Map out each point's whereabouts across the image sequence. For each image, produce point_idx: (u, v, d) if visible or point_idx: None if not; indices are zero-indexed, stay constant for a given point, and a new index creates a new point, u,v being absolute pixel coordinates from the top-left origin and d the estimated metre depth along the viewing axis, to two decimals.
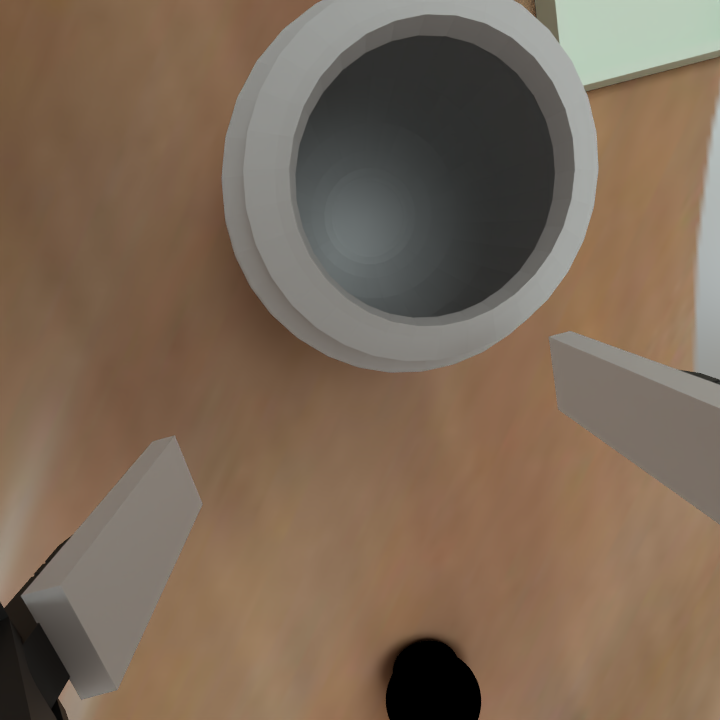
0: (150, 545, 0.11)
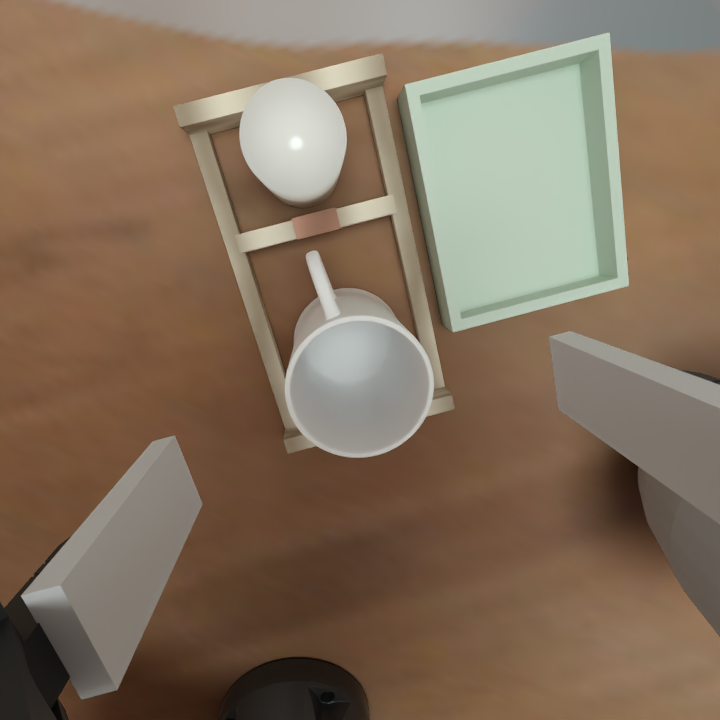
0: (150, 545, 0.11)
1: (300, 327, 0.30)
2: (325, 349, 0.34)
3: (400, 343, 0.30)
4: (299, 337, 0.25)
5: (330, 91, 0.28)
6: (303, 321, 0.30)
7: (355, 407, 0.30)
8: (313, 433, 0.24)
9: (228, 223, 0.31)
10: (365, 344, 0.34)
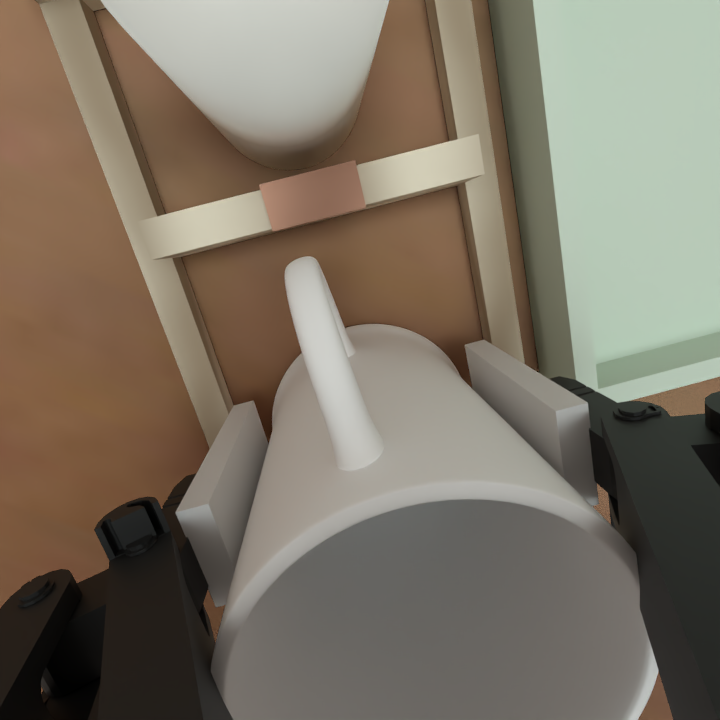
0: (250, 489, 0.13)
1: (279, 417, 0.14)
2: None
3: None
4: (266, 487, 0.10)
5: None
6: (286, 401, 0.15)
7: (393, 578, 0.15)
8: None
9: (135, 198, 0.15)
10: None
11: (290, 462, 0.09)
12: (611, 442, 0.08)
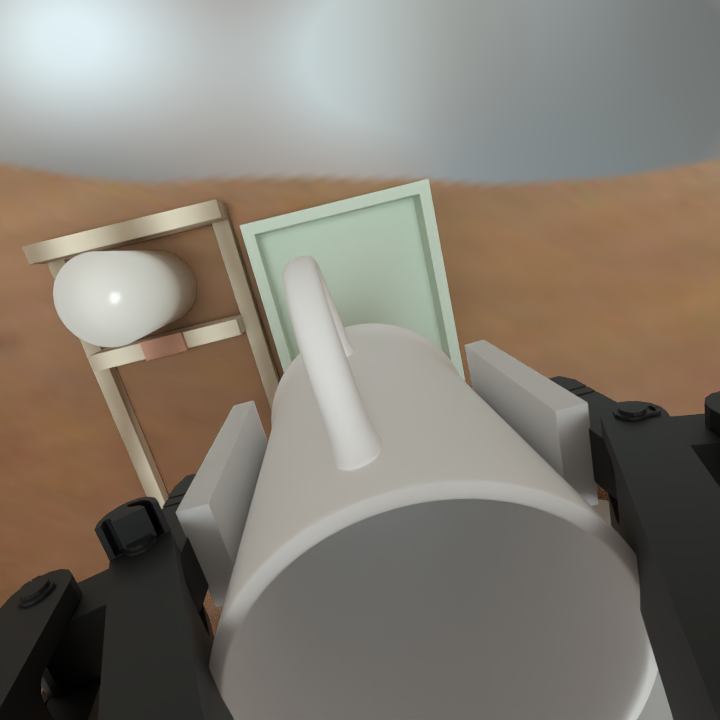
0: (250, 489, 0.13)
1: (278, 417, 0.14)
2: None
3: None
4: (264, 487, 0.09)
5: (172, 230, 0.30)
6: (285, 400, 0.15)
7: (392, 577, 0.15)
8: None
9: None
10: None
11: (288, 462, 0.09)
12: (611, 442, 0.08)
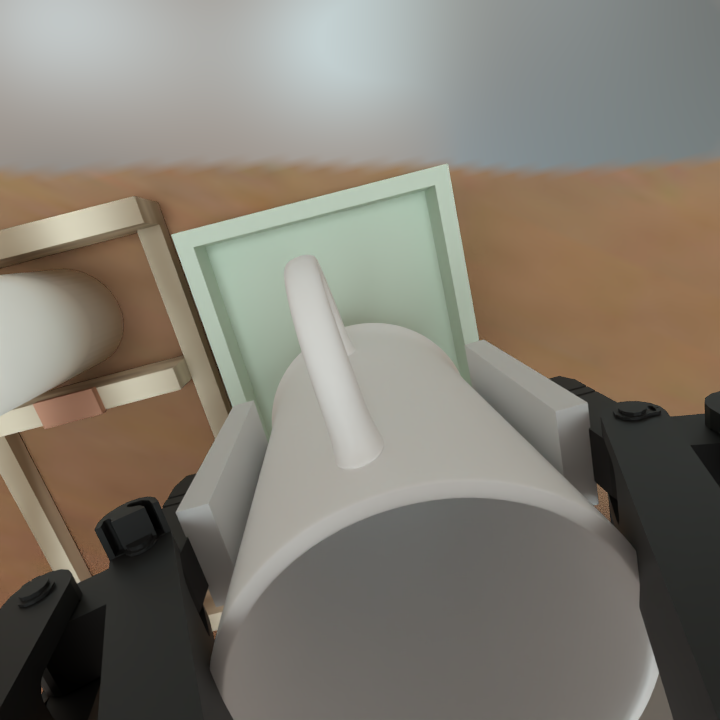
0: (250, 489, 0.13)
1: (279, 416, 0.14)
2: None
3: None
4: (266, 486, 0.09)
5: (74, 242, 0.21)
6: (286, 400, 0.15)
7: (393, 577, 0.15)
8: None
9: None
10: None
11: (289, 461, 0.09)
12: (611, 442, 0.08)
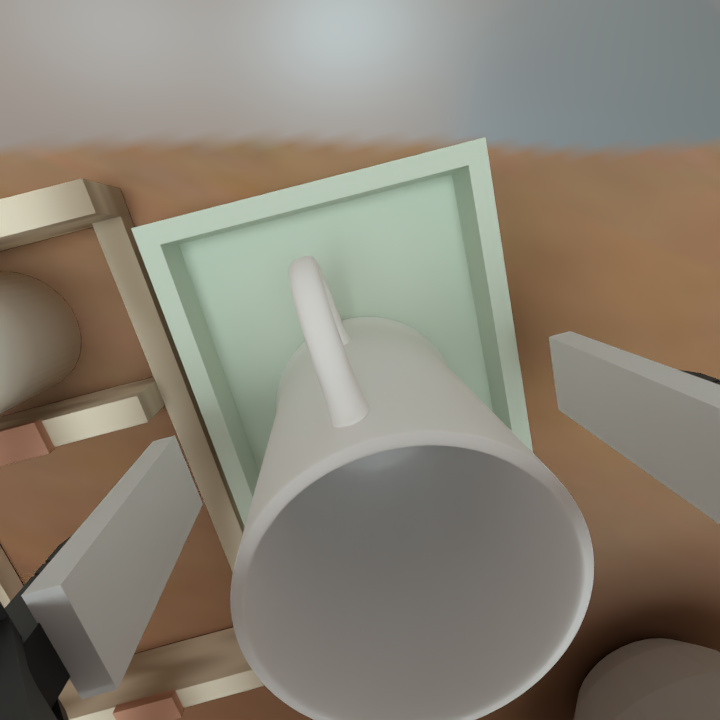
0: (150, 545, 0.11)
1: (283, 397, 0.16)
2: None
3: None
4: (273, 448, 0.11)
5: (8, 238, 0.16)
6: (289, 384, 0.16)
7: (384, 541, 0.17)
8: (303, 684, 0.10)
9: None
10: None
11: (293, 427, 0.11)
12: None
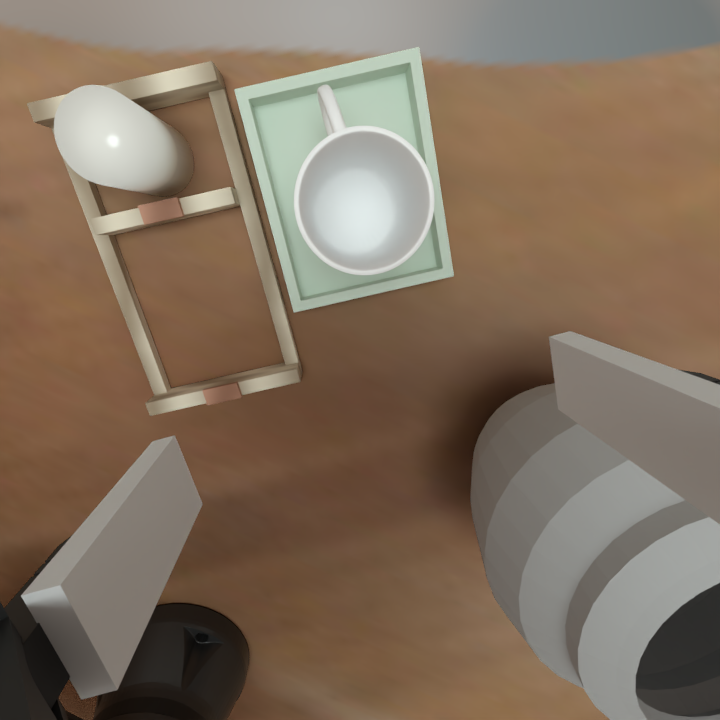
0: (150, 545, 0.11)
1: None
2: (333, 216, 0.35)
3: (405, 200, 0.32)
4: None
5: (170, 93, 0.31)
6: None
7: (360, 260, 0.32)
8: (319, 249, 0.26)
9: (91, 208, 0.35)
10: (371, 214, 0.35)
11: None
12: None
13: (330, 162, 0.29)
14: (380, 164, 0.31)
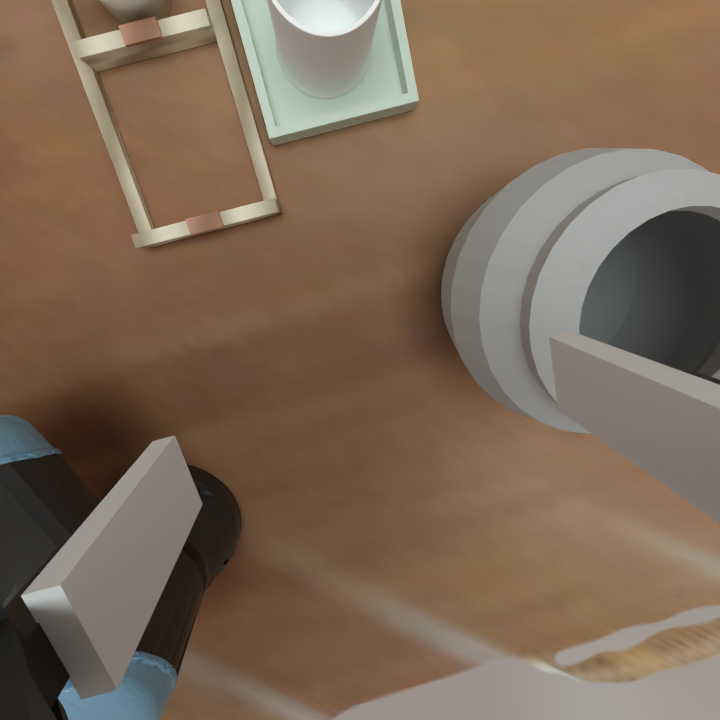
0: (150, 545, 0.11)
1: None
2: None
3: (367, 10, 0.34)
4: None
5: None
6: None
7: None
8: None
9: (75, 40, 0.37)
10: None
11: None
12: None
13: None
14: None
